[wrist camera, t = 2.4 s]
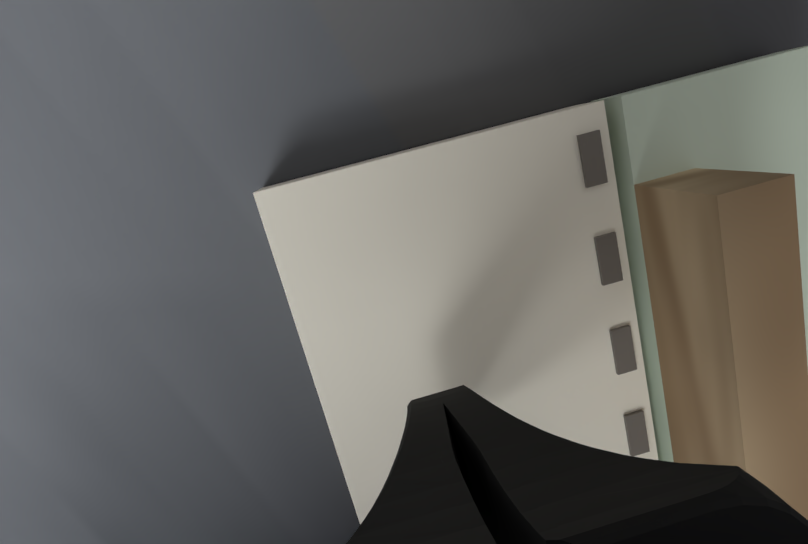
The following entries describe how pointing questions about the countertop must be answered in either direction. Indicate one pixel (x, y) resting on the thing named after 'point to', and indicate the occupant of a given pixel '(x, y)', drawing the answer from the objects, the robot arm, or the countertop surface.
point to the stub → (722, 262)
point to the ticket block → (466, 287)
